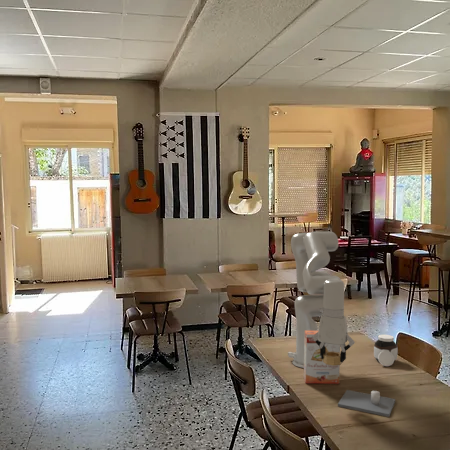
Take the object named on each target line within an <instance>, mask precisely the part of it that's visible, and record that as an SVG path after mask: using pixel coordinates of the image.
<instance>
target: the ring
mask: <svg viewBox="0 0 450 450" xmlns="http://www.w3.org/2000/svg"><path fill="white" fill-rule="evenodd" d="M340 355H341V352H340V353H339V352H333V351H330V352H325V353H324V354H323V362H324V363H325V364H327V365H333V366H336V365H340V366H341V365H342V364H343V362H340Z"/></svg>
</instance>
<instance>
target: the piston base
mask: <svg viewBox="0 0 450 450" xmlns="http://www.w3.org/2000/svg"><path fill="white" fill-rule="evenodd" d="M380 394H381V393H380V391H377V390H372V391H370V393H366V392H365V393H364V392H360V391H355V390H350V389H346V390H345V392H344V393H343V395H342V397H341V398H340V399H339V401H338V403H337V407H339V408H344V409H347V410H348V409H349V410H353V411H354V410H355V411H358V412H364V413H369V414H372V415H377V416H383V417H386V418H390V416H391V413H392V411H393V409H394V406H395V404H396V398H391V397H387V396H381V395H380Z"/></svg>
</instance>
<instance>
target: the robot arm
mask: <svg viewBox="0 0 450 450" xmlns="http://www.w3.org/2000/svg"><path fill="white" fill-rule="evenodd" d="M290 240H291V241H290V247H291V252H292V254H293V257H294V261H295V270H296V272H295V273H296V276H295V277H296V287H297V289H298V291H299V292H302V293H307V294H306V295H305V294H304V295H299V296H298V297H296V298H295V300H294V311H295V321H296V325H295V327H296V329H295V330H296V333H295V334H296V335H295V337H296V339H295V346H296V347H295V352H293V351H288V352H287V356H288V358H292V359H293V360H292V365H294V366H296V367H298V368H303V369H304V338H305V331H319V332H317V333H316V334H315V335H313V336H312V338H313V339H314V340H315V341H316V343H317V345H318V346H319V348H320V356H321V359H323V354H324V353H325V352H326V347H325V346H324V345H325V343H328V344H334V345H340V354H341V355H340V362H342V363H344V361H346V359H347V351H348V350H349V349H350V348H351V347H352V346H353V345H354V344H356V342H355V340H354V339H353V338H352V337H351V336H350V335H349V334H348V322H347V318H346V316H345V283H344V281H343V280H342V279H341V277H339V276H338V275H331V274H330V273H329V272H327V271H319V270H321V269H322V268H324V267H326V266H327V265H328V264H329V263H330V261H331V260H330V259H331V255H330V253H329V252H336V250H338V248H339V238H338V235H337V234H336V233H335V232H333V231H311V232H300V233H299V232H298V233H295V234H294V235H292V237H291V239H290ZM314 317H315V318H316V317H320V318H319V325H318V324H317V322H315V320H314V319H313V318H314ZM347 342H348V344H347V345H346V343H347Z"/></svg>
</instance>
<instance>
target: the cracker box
mask: <svg viewBox="0 0 450 450" xmlns="http://www.w3.org/2000/svg"><path fill="white" fill-rule="evenodd" d="M317 332H319V330H317V331H305V338H304V368H303V380H304V382H305V384H323V385H324V384H325V385H326V384H329V385H330V384H331V385H333V384H334V385H339V384H340V370H341V369H340V368H341V367H340V366H341V365H336V366H333V365H327V364H325V363H324V362H323V359H321V356H320V348H319V346H318V345H317V343H316V341H315V340H314V339H313V338H312V336H313V335H315V334H316V333H317ZM324 346H325V347H326V352H330V351H333V352H339V353H340V354H341V347H340V345H334V344H328V343H325V345H324Z"/></svg>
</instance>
